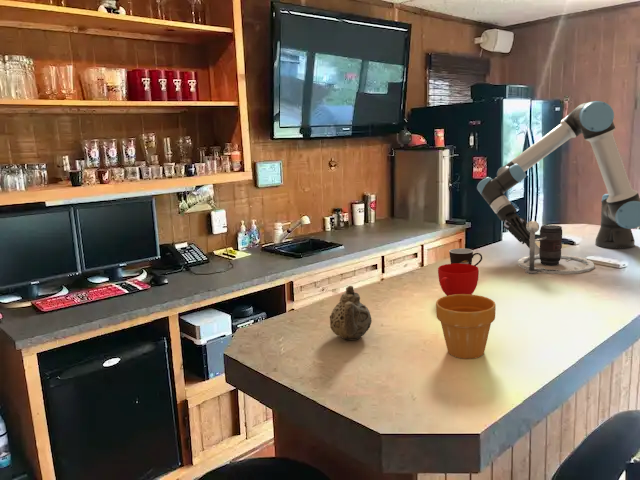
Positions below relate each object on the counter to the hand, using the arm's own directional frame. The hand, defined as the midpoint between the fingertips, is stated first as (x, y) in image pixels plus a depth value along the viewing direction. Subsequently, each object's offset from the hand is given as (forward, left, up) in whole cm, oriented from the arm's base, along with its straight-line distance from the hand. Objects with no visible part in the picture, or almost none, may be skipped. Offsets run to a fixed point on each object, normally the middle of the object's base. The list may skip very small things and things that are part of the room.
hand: (538, 253), depth 212 cm
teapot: (+80, +70, -4) cm, 106 cm away
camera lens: (-3, +4, -4) cm, 6 cm away
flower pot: (+52, +83, -4) cm, 98 cm away
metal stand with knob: (+6, +13, -4) cm, 14 cm away
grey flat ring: (-4, +6, -4) cm, 8 cm away
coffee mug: (+34, +16, -4) cm, 37 cm away
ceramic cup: (+44, +41, -4) cm, 60 cm away
